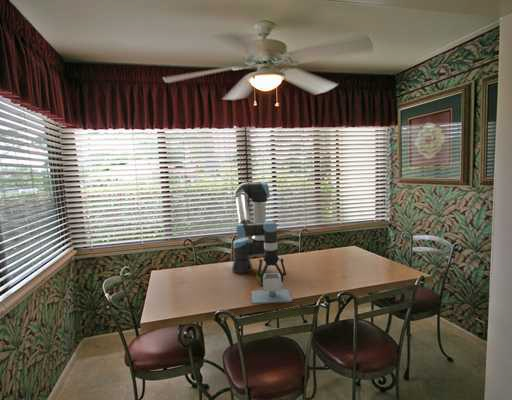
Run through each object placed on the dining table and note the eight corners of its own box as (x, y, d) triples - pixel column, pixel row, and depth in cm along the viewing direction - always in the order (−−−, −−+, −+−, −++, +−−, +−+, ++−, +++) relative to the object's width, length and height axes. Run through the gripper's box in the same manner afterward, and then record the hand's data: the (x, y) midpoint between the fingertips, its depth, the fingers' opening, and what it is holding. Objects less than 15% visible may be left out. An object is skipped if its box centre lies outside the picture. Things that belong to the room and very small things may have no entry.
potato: (259, 288, 181) (259, 276, 180) (255, 281, 194) (255, 269, 193) (272, 287, 183) (272, 274, 182) (268, 279, 195) (267, 268, 194)
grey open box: (264, 285, 173) (263, 273, 173) (279, 284, 173) (279, 273, 173) (264, 291, 164) (264, 279, 164) (280, 291, 164) (280, 278, 164)
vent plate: (251, 291, 177) (251, 279, 176) (287, 289, 178) (287, 277, 177) (252, 303, 161) (251, 290, 160) (292, 301, 162) (291, 288, 161)
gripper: (251, 251, 163) (253, 290, 165) (290, 250, 163) (292, 289, 165) (251, 248, 170) (253, 285, 173) (289, 246, 170) (290, 284, 173)
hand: (272, 287), depth 169 cm, fingers closed on grey open box, 9 cm apart
